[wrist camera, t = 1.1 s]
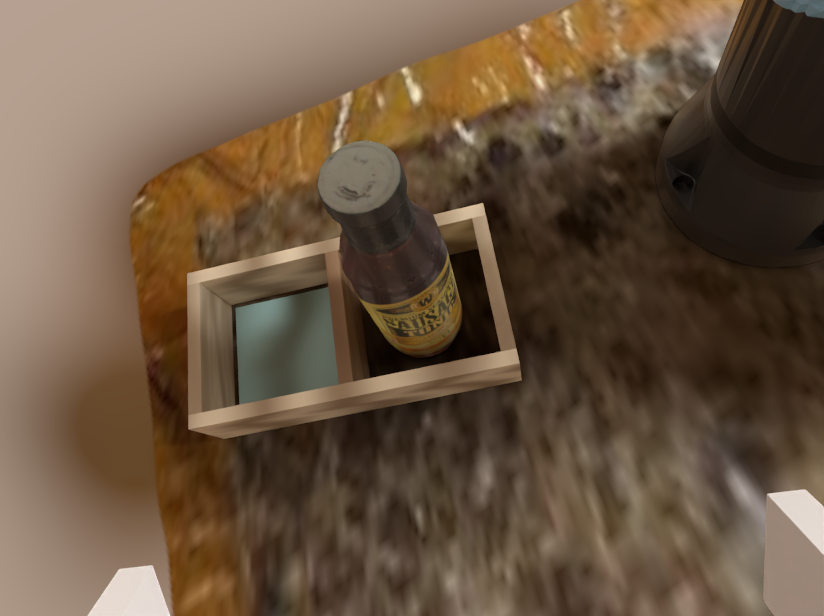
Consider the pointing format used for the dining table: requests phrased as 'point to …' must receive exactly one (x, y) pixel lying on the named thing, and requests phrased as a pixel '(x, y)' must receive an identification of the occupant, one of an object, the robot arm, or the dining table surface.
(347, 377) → the birch caddy
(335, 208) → the sauce bottle
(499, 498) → the dining table surface
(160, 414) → the dining table surface
